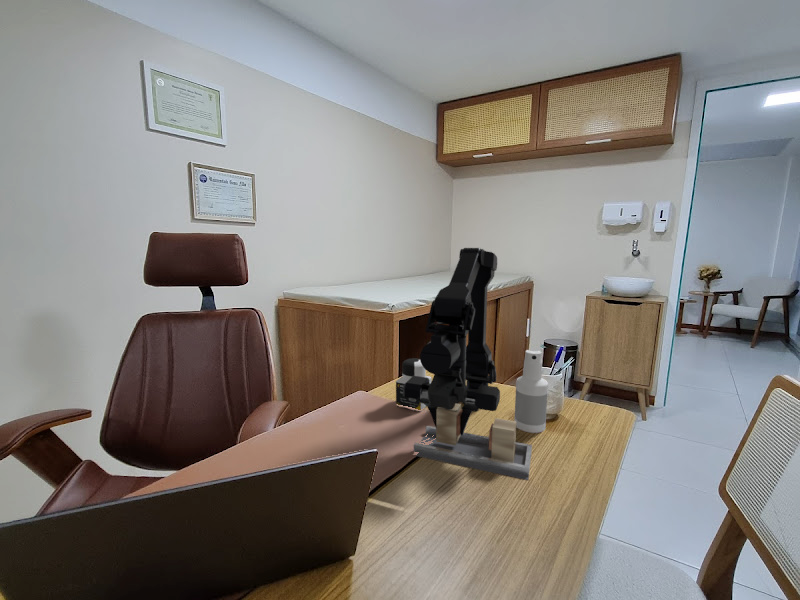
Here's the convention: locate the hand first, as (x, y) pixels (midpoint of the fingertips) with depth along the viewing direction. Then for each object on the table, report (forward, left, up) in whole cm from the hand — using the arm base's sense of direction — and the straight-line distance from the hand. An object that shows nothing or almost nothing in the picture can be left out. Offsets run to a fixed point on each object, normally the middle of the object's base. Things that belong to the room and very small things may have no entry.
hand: (450, 431), depth 78 cm
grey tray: (0, +5, -4) cm, 6 cm away
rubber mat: (0, +5, -4) cm, 6 cm away
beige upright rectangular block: (0, +11, -3) cm, 11 cm away
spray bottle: (-16, +15, -4) cm, 22 cm away
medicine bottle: (-18, -14, -4) cm, 23 cm away
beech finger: (0, 0, -2) cm, 2 cm away
